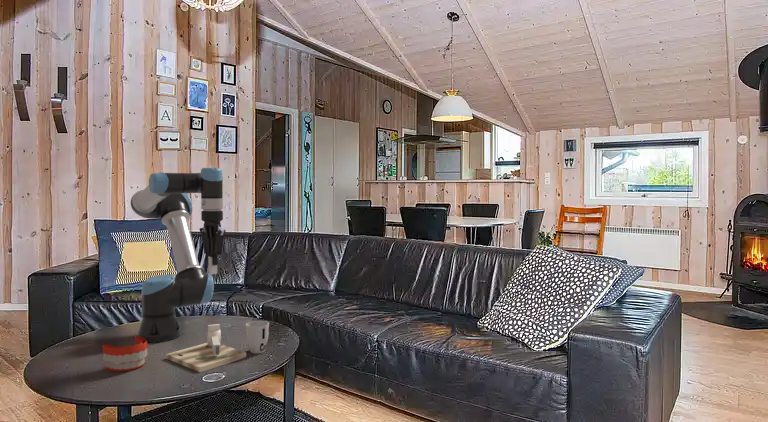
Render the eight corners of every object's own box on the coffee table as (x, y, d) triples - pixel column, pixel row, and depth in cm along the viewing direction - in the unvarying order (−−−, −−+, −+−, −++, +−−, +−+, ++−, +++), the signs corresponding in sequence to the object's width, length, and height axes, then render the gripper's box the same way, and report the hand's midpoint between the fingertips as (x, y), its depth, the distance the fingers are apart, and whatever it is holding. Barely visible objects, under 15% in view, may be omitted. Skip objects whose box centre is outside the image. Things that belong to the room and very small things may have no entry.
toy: (120, 376, 164) (119, 351, 163) (101, 369, 169) (101, 345, 169) (156, 364, 174) (156, 340, 174) (137, 358, 180) (137, 335, 179)
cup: (263, 355, 183) (263, 327, 182) (241, 354, 185) (241, 326, 184) (272, 348, 191) (272, 321, 190) (252, 346, 193) (251, 319, 192)
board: (166, 358, 179) (166, 353, 179) (213, 345, 194) (213, 340, 194) (200, 372, 167) (200, 366, 167) (247, 356, 182) (247, 351, 182)
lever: (207, 343, 190) (206, 323, 189) (220, 341, 191) (220, 322, 191) (210, 358, 174) (210, 337, 174) (224, 356, 176) (224, 335, 176)
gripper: (192, 209, 193) (193, 273, 195) (213, 211, 185) (214, 277, 187) (210, 208, 199) (211, 270, 201) (231, 210, 191) (232, 274, 193)
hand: (213, 273), depth 194 cm, fingers closed
